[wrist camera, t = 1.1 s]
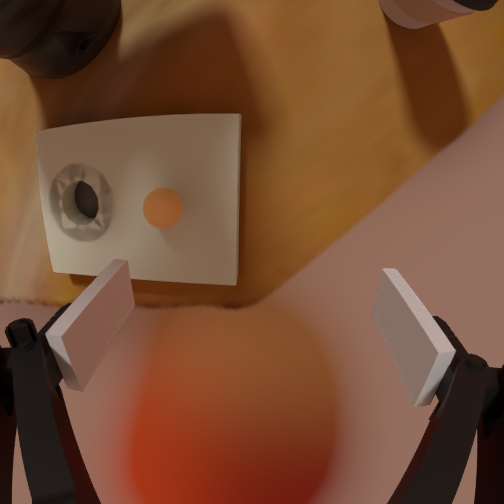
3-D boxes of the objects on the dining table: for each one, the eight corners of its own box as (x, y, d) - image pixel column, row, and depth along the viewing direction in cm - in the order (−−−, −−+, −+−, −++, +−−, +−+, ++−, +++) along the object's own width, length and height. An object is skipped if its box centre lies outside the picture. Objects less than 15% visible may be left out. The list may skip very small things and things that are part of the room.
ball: (149, 184, 31) (135, 192, 28) (187, 183, 31) (176, 192, 27) (151, 221, 33) (138, 233, 29) (188, 222, 33) (178, 235, 29)
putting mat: (50, 129, 32) (36, 131, 29) (241, 114, 31) (239, 113, 28) (64, 262, 39) (53, 271, 36) (238, 273, 38) (236, 285, 35)
